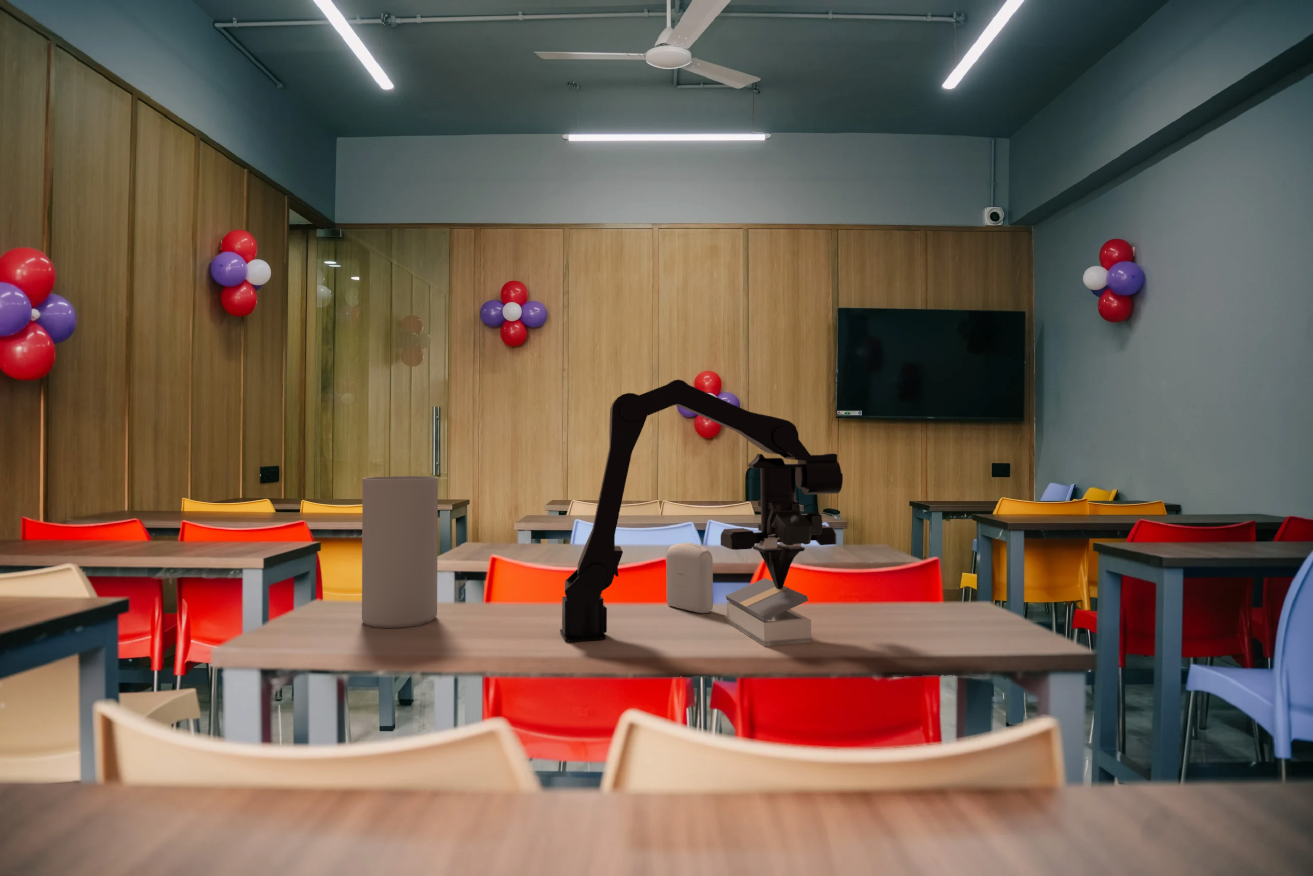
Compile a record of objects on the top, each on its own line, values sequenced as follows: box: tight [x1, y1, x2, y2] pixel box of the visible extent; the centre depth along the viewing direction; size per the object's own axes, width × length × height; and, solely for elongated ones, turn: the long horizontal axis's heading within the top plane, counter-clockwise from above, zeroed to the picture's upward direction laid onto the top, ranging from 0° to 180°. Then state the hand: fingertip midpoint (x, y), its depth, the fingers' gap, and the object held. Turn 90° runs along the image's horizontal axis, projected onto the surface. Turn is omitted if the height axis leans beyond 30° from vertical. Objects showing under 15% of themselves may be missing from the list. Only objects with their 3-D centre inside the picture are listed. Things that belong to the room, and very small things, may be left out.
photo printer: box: [665, 542, 714, 614], centre depth 143 cm, size 10×4×12 cm, turn 39°
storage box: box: [726, 601, 812, 647], centre depth 126 cm, size 8×16×4 cm, turn 16°
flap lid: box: [725, 577, 809, 621], centre depth 126 cm, size 8×16×1 cm, turn 16°
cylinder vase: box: [361, 475, 439, 629], centre depth 133 cm, size 12×12×25 cm
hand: (779, 588), depth 127 cm, fingers closed, pressing on flap lid
